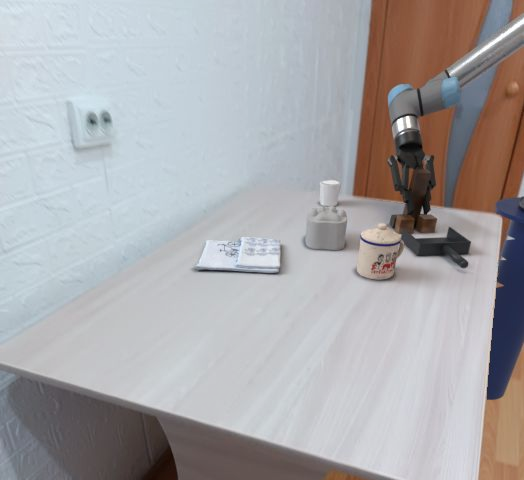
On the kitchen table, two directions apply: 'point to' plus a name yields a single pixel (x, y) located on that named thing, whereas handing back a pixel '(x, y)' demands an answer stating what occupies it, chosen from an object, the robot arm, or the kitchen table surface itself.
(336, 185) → the white cup
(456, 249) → the dustpan
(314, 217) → the grey rounded block
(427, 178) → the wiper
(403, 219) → the brown cube
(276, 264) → the folded kitchen towel
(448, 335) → the kitchen table surface
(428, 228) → the crumb
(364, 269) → the teacup with lid
